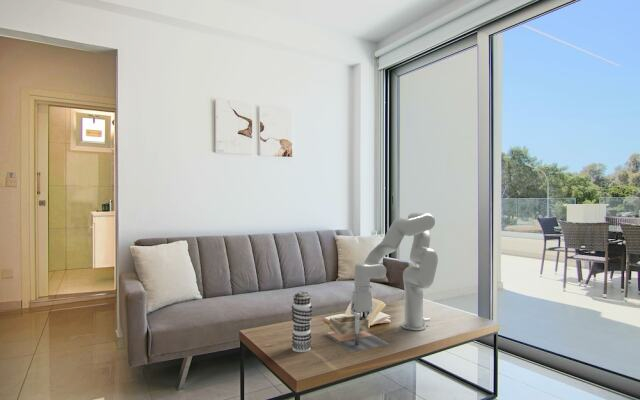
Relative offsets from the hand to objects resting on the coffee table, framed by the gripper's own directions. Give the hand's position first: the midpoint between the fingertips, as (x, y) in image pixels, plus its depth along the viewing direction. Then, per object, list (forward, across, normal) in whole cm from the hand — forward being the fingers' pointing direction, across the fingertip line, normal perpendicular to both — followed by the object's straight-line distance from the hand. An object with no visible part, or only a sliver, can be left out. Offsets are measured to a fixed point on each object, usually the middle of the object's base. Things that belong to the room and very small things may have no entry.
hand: (361, 325), depth 193 cm
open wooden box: (+1, +7, 0) cm, 7 cm away
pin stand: (+4, +7, +6) cm, 10 cm away
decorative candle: (+5, +34, +4) cm, 35 cm away
